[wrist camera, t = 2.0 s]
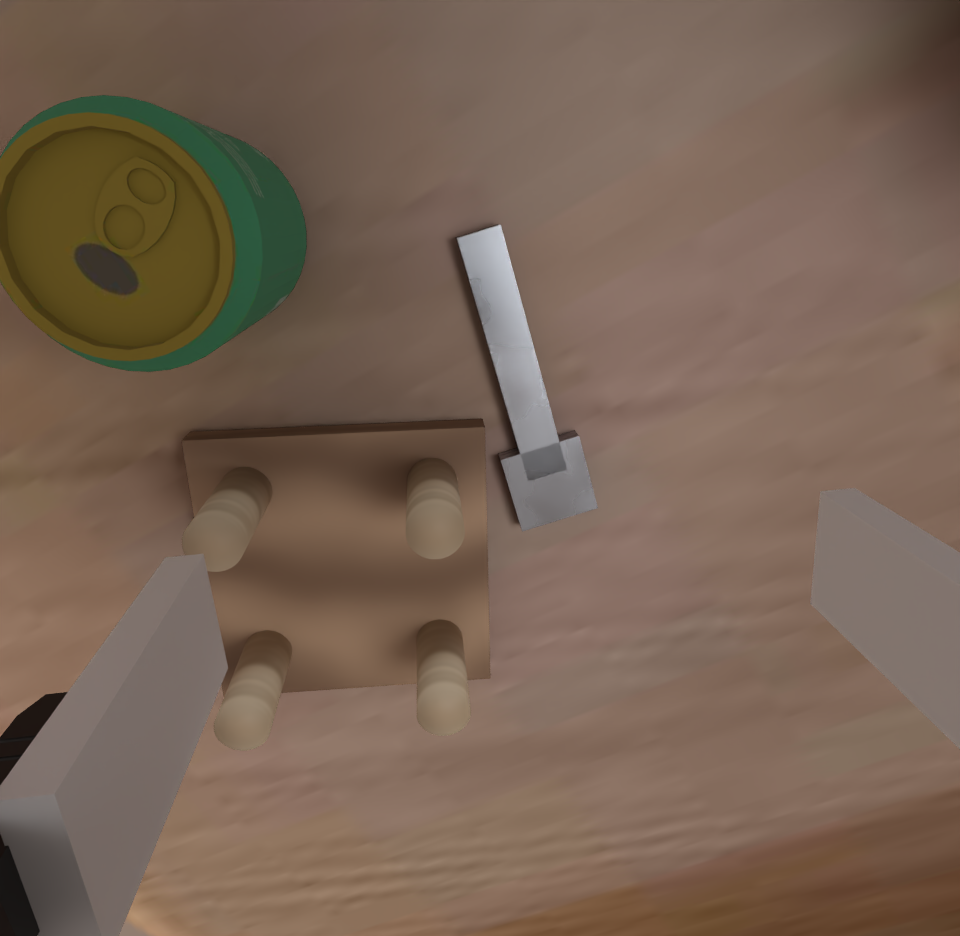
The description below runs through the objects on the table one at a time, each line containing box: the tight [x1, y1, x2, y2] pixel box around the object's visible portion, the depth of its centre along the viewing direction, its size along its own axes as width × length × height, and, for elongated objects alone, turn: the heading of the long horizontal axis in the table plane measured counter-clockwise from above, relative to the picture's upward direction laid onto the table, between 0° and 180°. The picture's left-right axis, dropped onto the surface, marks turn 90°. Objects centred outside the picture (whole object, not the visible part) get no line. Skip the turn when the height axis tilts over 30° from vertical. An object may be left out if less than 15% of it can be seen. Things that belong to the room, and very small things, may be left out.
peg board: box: [182, 419, 490, 751], centre depth 34 cm, size 14×14×8 cm
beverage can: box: [0, 95, 307, 372], centre depth 27 cm, size 8×8×12 cm
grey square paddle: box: [456, 224, 598, 531], centre depth 35 cm, size 14×4×1 cm, turn 17°
